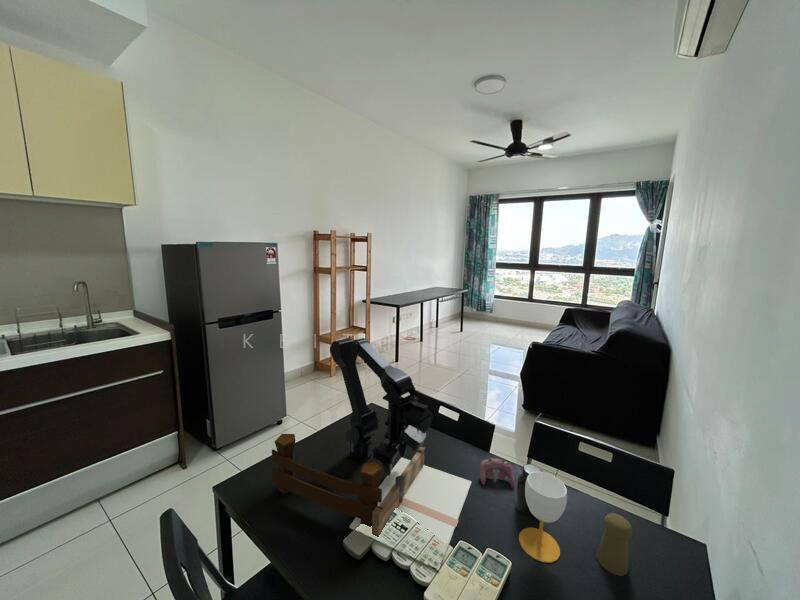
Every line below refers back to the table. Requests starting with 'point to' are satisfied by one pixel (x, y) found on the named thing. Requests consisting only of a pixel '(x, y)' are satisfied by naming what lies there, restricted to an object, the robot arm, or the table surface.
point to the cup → (543, 515)
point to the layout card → (429, 499)
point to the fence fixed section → (387, 506)
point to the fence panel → (413, 469)
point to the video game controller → (496, 464)
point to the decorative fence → (327, 483)
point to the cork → (615, 544)
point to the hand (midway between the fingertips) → (395, 465)
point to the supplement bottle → (520, 496)
